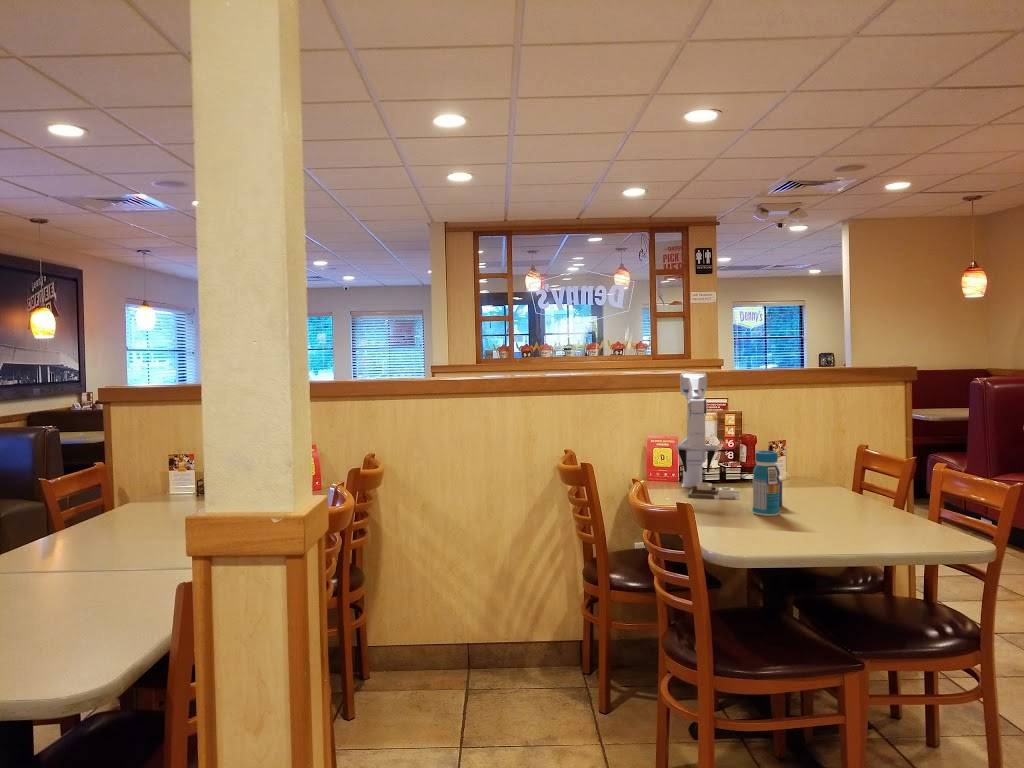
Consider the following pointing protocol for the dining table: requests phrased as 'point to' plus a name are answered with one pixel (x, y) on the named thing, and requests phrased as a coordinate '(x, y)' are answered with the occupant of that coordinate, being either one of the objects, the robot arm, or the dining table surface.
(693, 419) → the robot arm
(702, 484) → the twin pot
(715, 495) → the rack
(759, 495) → the beverage bottle
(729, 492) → the pot
